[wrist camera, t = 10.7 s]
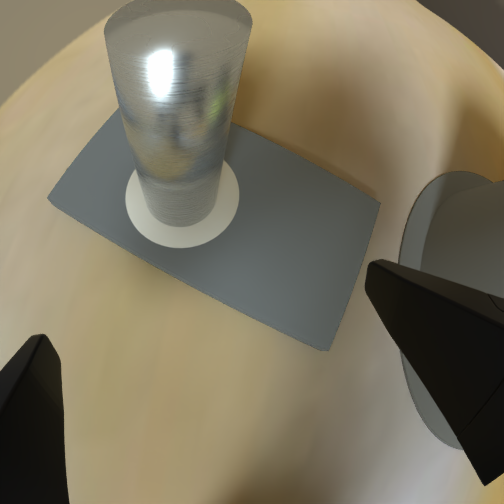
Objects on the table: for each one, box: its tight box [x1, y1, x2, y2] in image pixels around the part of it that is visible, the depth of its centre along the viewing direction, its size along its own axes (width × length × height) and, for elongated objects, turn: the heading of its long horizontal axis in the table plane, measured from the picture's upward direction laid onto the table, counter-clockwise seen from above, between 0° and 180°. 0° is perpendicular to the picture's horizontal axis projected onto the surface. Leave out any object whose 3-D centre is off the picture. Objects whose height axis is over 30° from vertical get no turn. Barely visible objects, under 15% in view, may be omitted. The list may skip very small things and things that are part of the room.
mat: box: [47, 108, 381, 351], centre depth 19 cm, size 20×11×1 cm, turn 64°
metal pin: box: [104, 0, 252, 227], centre depth 13 cm, size 4×4×12 cm
